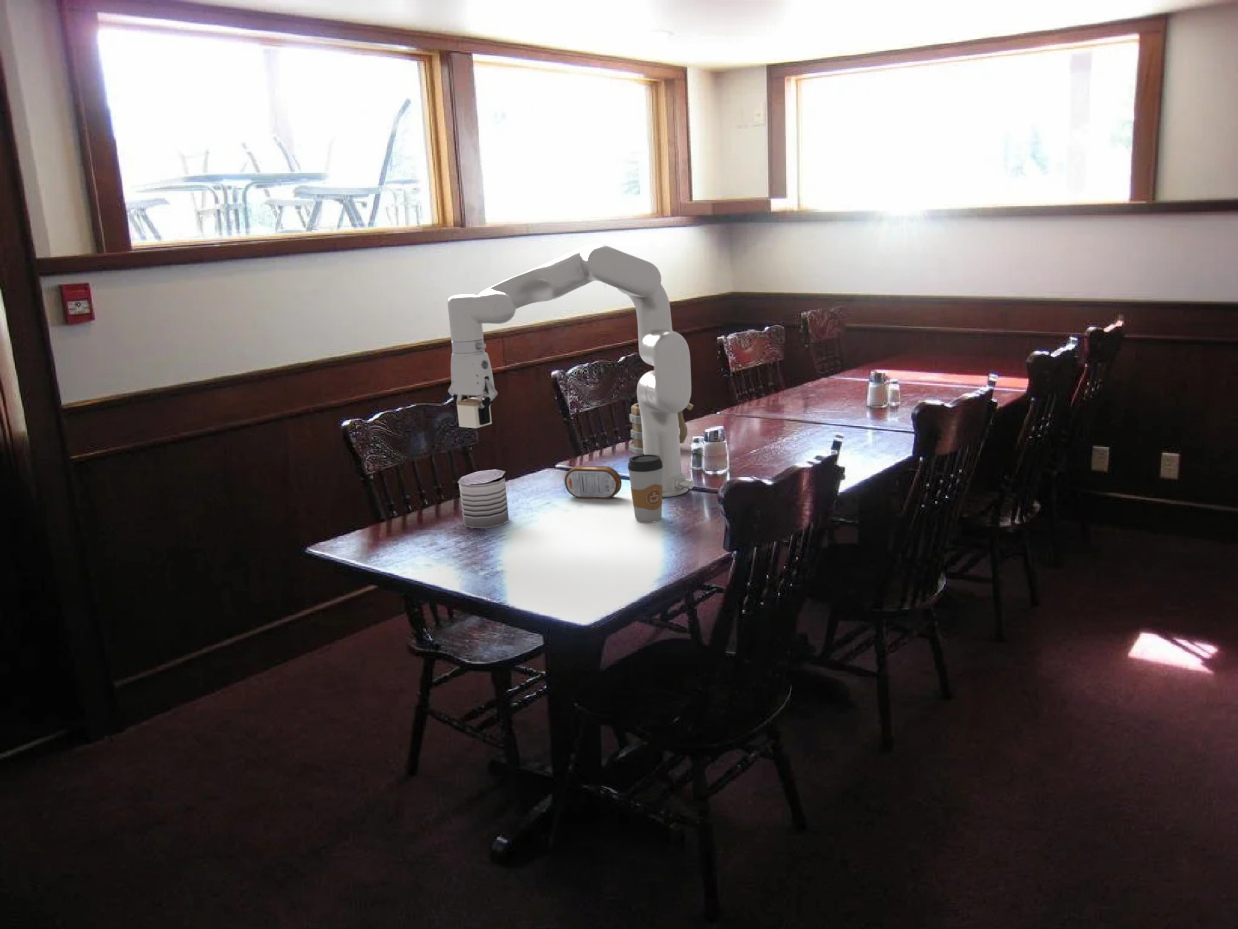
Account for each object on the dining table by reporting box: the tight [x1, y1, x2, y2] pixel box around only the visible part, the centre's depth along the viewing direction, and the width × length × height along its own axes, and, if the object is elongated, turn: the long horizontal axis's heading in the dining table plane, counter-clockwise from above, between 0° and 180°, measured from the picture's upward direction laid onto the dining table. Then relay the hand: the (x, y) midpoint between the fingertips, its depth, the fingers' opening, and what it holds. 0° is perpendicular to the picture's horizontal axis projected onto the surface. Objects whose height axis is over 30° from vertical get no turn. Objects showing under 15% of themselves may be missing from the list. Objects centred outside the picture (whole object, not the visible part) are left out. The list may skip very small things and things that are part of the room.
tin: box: [564, 464, 623, 500], centre depth 275 cm, size 15×3×8 cm, turn 71°
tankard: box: [628, 402, 694, 455], centre depth 321 cm, size 20×13×15 cm, turn 68°
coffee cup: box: [627, 454, 663, 523], centre depth 253 cm, size 8×8×15 cm
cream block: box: [455, 396, 493, 429], centre depth 255 cm, size 6×6×6 cm
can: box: [457, 468, 510, 529], centre depth 260 cm, size 11×11×12 cm
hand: (475, 422), depth 255 cm, fingers closed on cream block, 5 cm apart
